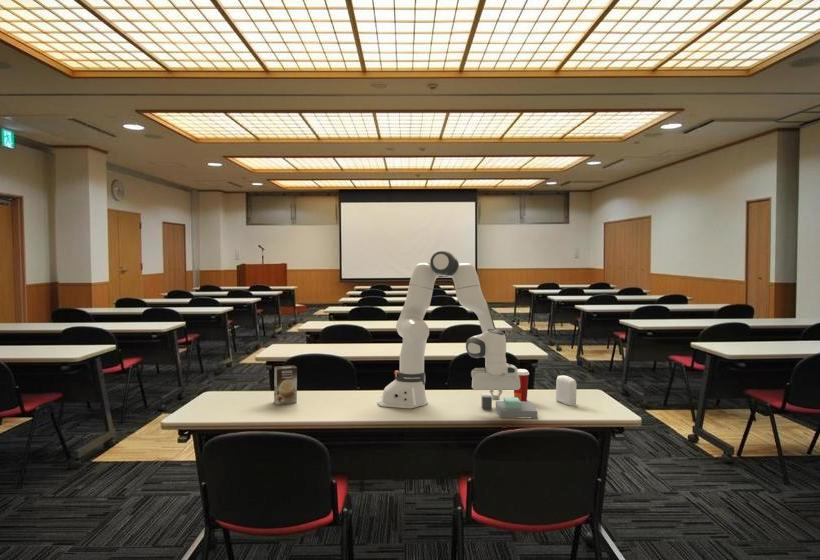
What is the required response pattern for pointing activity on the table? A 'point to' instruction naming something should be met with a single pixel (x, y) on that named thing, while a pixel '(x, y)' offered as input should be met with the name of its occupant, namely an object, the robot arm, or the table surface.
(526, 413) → the socket
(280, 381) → the coffee box
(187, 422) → the table surface
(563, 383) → the book
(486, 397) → the plug
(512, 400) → the mint green block
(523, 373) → the paper cup
